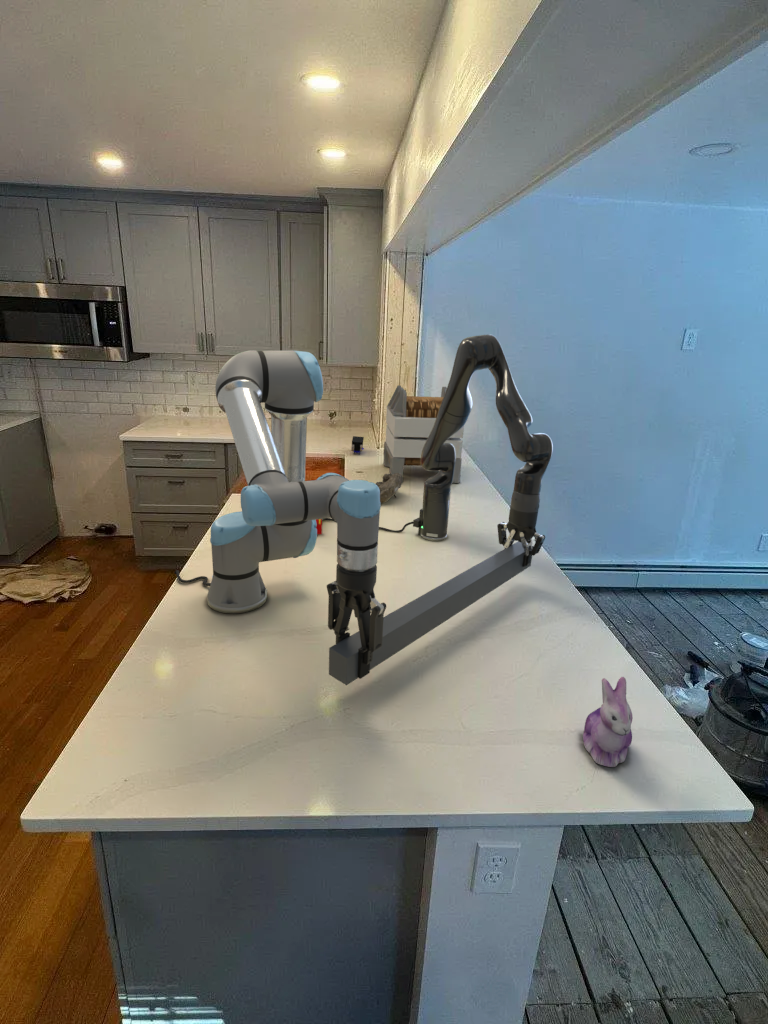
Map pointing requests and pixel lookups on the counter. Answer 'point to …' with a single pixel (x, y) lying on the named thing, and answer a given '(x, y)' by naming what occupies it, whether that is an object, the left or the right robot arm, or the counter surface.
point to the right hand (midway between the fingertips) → (516, 562)
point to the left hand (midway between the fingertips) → (353, 668)
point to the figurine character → (357, 444)
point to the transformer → (414, 431)
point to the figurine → (609, 726)
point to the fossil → (389, 486)
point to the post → (428, 611)
